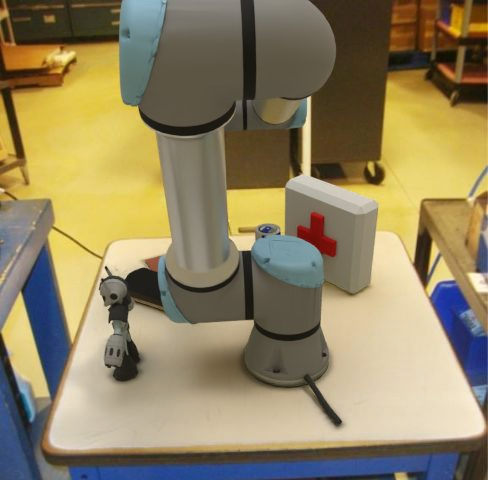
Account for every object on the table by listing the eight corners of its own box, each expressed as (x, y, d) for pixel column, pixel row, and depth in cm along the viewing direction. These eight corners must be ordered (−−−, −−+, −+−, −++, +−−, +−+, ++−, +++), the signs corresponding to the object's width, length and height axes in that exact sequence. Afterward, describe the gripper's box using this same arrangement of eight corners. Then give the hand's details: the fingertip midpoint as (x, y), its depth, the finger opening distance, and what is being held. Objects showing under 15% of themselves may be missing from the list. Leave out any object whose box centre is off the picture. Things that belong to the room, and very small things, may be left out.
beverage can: (273, 300, 128) (273, 235, 119) (252, 294, 130) (250, 230, 121) (284, 288, 132) (285, 225, 123) (263, 283, 134) (262, 220, 125)
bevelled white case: (277, 264, 140) (278, 181, 128) (301, 252, 144) (304, 170, 133) (349, 300, 127) (357, 212, 115) (373, 286, 131) (383, 199, 120)
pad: (235, 254, 144) (235, 253, 144) (155, 275, 138) (155, 274, 137) (222, 241, 150) (222, 240, 150) (144, 260, 143) (144, 259, 143)
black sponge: (202, 298, 129) (201, 283, 127) (178, 318, 124) (177, 303, 121) (141, 279, 136) (139, 265, 134) (116, 297, 131) (113, 283, 128)
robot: (134, 402, 104) (117, 304, 92) (105, 404, 104) (84, 305, 92) (146, 334, 120) (132, 242, 108) (121, 334, 120) (105, 243, 108)
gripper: (234, 151, 116) (238, 260, 130) (207, 131, 126) (213, 234, 139) (198, 158, 113) (206, 268, 127) (173, 138, 123) (183, 242, 137)
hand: (210, 251), depth 133 cm, fingers closed
